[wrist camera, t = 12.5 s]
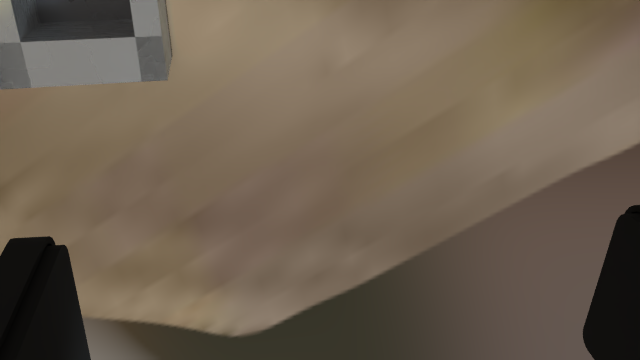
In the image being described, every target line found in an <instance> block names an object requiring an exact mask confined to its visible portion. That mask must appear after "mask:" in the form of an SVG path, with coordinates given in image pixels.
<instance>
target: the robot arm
mask: <svg viewBox="0 0 640 360" xmlns="http://www.w3.org/2000/svg"><path fill="white" fill-rule="evenodd" d="M583 339H584V343H585V346H586V348H587V350H588V351H589V353H590V354H591V355H592V357H593V358H594V359H595V360H640V205H634V206H631V207H629V208H628V210H626V212H625V214H623V215H621V216H620V217H619V218H618V220H617V222H616V225H615V228H614V231H613V235H612V238H611V241H610V244H609V248H608V251H607V254H606V257H605V260H604V264H603V267H602V270H601V273H600V277H599V280H598V283H597V286H596V289H595V293H594V296H593V299H592V302H591V306H590V309H589V312H588V315H587V319H586V322H585V325H584V329H583ZM0 360H91V359H90V353H89V349H88V344H87V339H86V334H85V329H84V325H83V320H82V315H81V310H80V305H79V301H78V296H77V291H76V286H75V281H74V277H73V272H72V267H71V262H70V257H69V253H68V249H67V247H66V246H65V245H55V242H54V240H53V238H51V237H50V236H48V237H29V238H13V239H10V240H9V242H8V243H7V245H6V247H5V248H4V250H3V252H2V254H1V256H0Z"/></svg>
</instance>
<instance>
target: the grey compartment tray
mask: <svg viewBox="0 0 640 360" xmlns="http://www.w3.org/2000/svg"><path fill="white" fill-rule="evenodd" d="M171 60H172V49H171V40H170V32H169V24H168V16H167V8H166V0H0V89H14V88H33V87H51V86H69V85H87V84H105V83H124V82H142V81H160V80H168V75H169V70H170V65H171Z"/></svg>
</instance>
